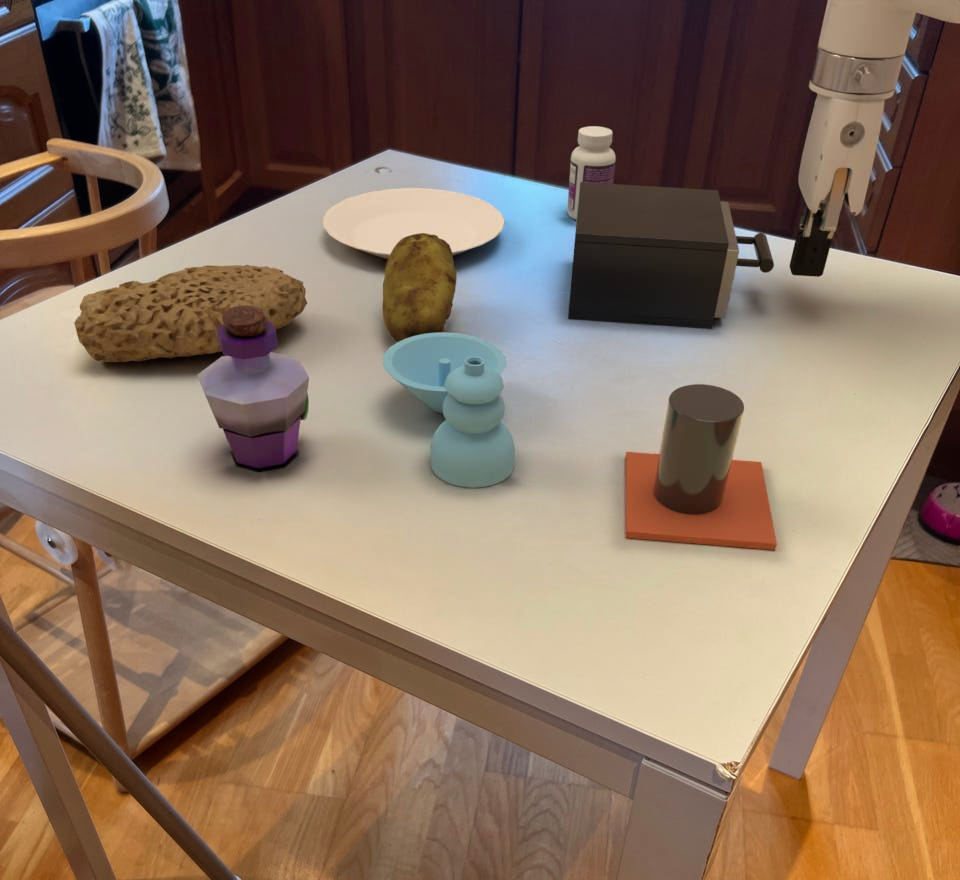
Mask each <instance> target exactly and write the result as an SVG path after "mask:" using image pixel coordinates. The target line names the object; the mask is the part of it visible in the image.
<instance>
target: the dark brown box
mask: <svg viewBox="0 0 960 880" xmlns="http://www.w3.org/2000/svg"><path fill="white" fill-rule="evenodd" d="M720 201H721V199H720V194H719V190H717V189H705V188H703V189H701V188H687V187H686V188H683V187H671V186H669V187H667V186H651V185H636V184H635V185H634V184H618V183H613V184H603V183H586V182H580V191H579V201H578V212H577V220H576V224H575V233H574V247H573V257H572V269H571V279H570V288H569V289H570V290H569V303H568V313H567V319H568V320H581V321H596V322H597V321H598V322H612V323H624V324H625V323H627V324H640V325H656V326H670V327H683V328H685V327H686V328H698V329H713V326H714V321H715V318H716V317H715V312H716V307H717V302H718V297H719V292H720V287H721V281H722V276H723V271H724V266H725V261H726V256H727V250H728V246H729V241H728V237H727V232H726V227H725V222H724V217H723V212H722V208H721V203H720Z"/></svg>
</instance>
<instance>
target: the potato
mask: <svg viewBox="0 0 960 880" xmlns="http://www.w3.org/2000/svg"><path fill="white" fill-rule="evenodd" d="M457 276H458V275H457V270H456V267H455V263H454V256H453V254H452V251H451V248H450V245H449V244H448V243H447V242H446V241H445V240H443V239H439V238H438V236H436V235H430V234H426V233H420V234H413V235H410V236H407V237H404V238H403V239H401V240H400V241H399V242H398V243H397V244H396V245H395V247H394V248H393V250H392V252H391V254H390V256H389V258H388V259H387V261H386V264H385V270H384V279H383V283H382V318H383V322H384V325H385V329H386V331H387V332H388V334H389V336H390V337H391V339H393V341H395V343H397V342H399V341H401V340H404V339H406V338H409V337H412V336H416V335H421V334H427V333H442V332H445V326H446V323H447V320H449V318H450V316H451V314H452V313H451V312H452V308H453V306H454V303H453V301H454V298H455V293H456V286H457Z"/></svg>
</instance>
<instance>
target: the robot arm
mask: <svg viewBox="0 0 960 880" xmlns="http://www.w3.org/2000/svg"><path fill="white" fill-rule="evenodd" d="M826 3H827V4H826V7H825V12H824V16H823V20H822V25H821V30H820V35H819V39H818V43H817V46H816V47H817V48H816V52H815V57H814V60H813V61H814V62H813V66H812V71H811V75H810V79H809V84H808V88H809V90H811V91H812V92H814V93H816V94H817V95H816V97H815V101H814V106H813V110H812V113H811V118H810V121H809V125H808V128H807V133H806V138H805V142H804V146H803V150H802V154H801V159H800V165H799V170H798V178H797V179H798V187H799V190H800V193H801V196H802V197H803V199H804V201H803V207H802V210H801V215H800V219H799V229H797V232H796V236H795V239H794V244H793V249H792V253H791V257H790V263H789V266H788V267H789V270H790V272H791V275H792V276H796V277H797V276H798V277H815V278H816V277H817V278H820V277H822V276H823V275H824V272H825V268H826V264H827V260H828V256H829V252H830V248H831V244H832V241H833V238H834V234H835V232H836V231H837V228H838V225H839V224H838V223H839V219H840V214H841V210H842V207H843V204H844V203H845V205H846V207H847V209H848V212H849V213H850V214H851V216H858V215H860V213H861V212H862V211H863V207H864V204H865V200H866V195H867V193H868V192H867V191H868V188H869V184H870V183H869V182H870V180H871V179H870V178H871V174H872V170H873V165H874V161H875V157H876V153H877V148H878V143H879V138H880V134H881V128H882V123H883V117H884V108H885V100H887V99H890V98H892V97H893V96H894V94H895V90H896V87H897V84H898V80H899V76H900V72H901V69H902V66H903V63H904V59H905V55H906V50H907V47H908V43H909V39H910V37H911V36H910V35H911V32H912V30H913V29H912V28H913V26H914V25H913V24H914V22H915V18H916V13H917V14H920V15H923V16H927V17H930V18H933V19H936V20H940V21H942V22H947V23H952V24H960V0H827V2H826Z"/></svg>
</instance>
